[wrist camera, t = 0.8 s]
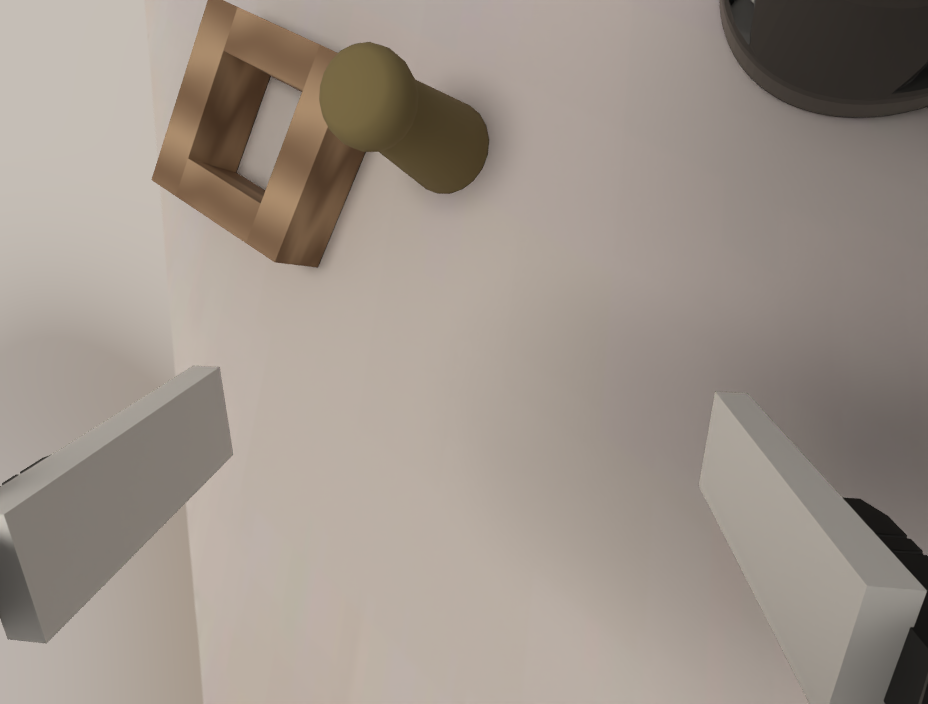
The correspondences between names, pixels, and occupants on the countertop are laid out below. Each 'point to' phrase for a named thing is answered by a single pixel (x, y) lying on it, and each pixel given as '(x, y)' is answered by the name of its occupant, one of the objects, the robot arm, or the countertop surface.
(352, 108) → the cork
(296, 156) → the socket block
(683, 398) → the countertop surface
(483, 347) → the countertop surface
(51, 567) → the robot arm
